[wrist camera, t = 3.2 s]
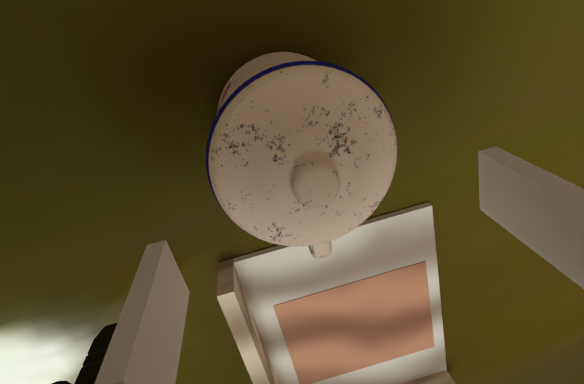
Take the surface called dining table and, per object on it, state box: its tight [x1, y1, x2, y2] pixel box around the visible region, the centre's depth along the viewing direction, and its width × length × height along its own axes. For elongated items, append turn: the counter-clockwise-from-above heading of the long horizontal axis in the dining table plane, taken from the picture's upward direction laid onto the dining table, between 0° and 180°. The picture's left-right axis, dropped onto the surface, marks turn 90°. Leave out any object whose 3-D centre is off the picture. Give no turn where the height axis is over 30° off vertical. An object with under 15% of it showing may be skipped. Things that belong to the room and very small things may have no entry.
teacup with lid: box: [206, 52, 397, 259], centre depth 21 cm, size 12×9×12 cm
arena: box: [217, 202, 455, 384], centre depth 33 cm, size 20×17×4 cm
